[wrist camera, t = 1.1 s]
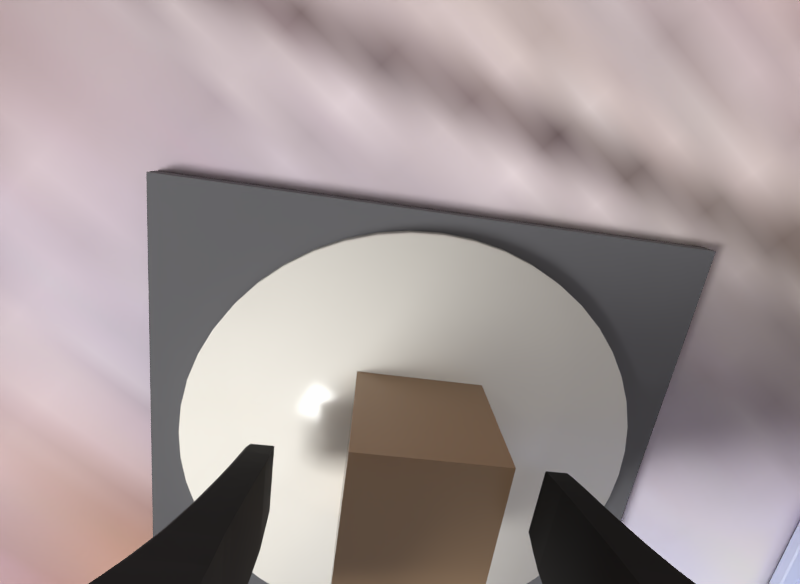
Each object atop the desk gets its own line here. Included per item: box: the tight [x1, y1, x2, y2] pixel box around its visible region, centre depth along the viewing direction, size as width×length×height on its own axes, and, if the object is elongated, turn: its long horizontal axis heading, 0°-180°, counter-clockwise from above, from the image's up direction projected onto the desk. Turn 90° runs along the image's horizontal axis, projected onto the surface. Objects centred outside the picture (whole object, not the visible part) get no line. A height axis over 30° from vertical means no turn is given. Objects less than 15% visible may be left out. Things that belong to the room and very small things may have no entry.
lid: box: [179, 230, 628, 584], centre depth 12 cm, size 13×13×4 cm
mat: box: [147, 171, 716, 584], centre depth 15 cm, size 15×14×1 cm
